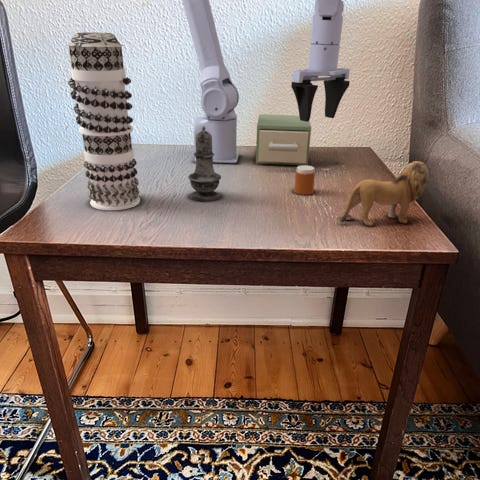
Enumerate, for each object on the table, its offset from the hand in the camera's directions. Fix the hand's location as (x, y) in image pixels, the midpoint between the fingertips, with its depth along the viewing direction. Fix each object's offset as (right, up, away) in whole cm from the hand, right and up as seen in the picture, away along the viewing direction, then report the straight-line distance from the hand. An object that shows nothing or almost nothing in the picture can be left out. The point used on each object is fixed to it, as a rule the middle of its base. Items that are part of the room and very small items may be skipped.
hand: (317, 119), depth 98 cm
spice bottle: (-4, -18, -10) cm, 21 cm away
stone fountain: (-23, -20, -14) cm, 33 cm away
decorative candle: (-38, -22, -17) cm, 47 cm away
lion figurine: (+7, -26, -22) cm, 35 cm away
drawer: (-7, -6, +7) cm, 11 cm away
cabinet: (-7, -4, +12) cm, 14 cm away
